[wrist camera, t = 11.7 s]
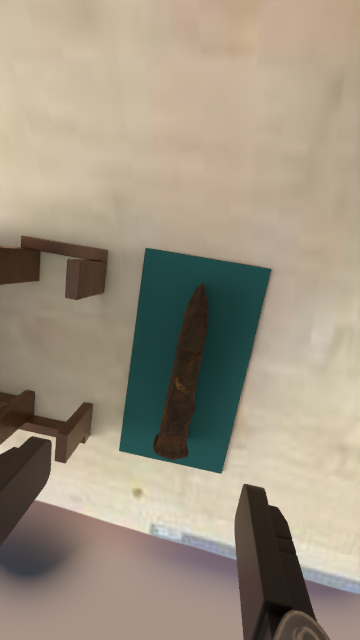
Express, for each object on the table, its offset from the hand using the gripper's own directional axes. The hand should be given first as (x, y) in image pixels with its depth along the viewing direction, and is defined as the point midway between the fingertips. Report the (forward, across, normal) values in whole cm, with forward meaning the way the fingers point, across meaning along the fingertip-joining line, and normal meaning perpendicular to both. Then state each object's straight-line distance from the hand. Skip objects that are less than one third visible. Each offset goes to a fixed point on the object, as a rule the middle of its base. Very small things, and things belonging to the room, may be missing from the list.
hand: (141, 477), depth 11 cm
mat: (+19, -1, +4) cm, 19 cm away
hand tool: (+19, 0, +3) cm, 19 cm away
